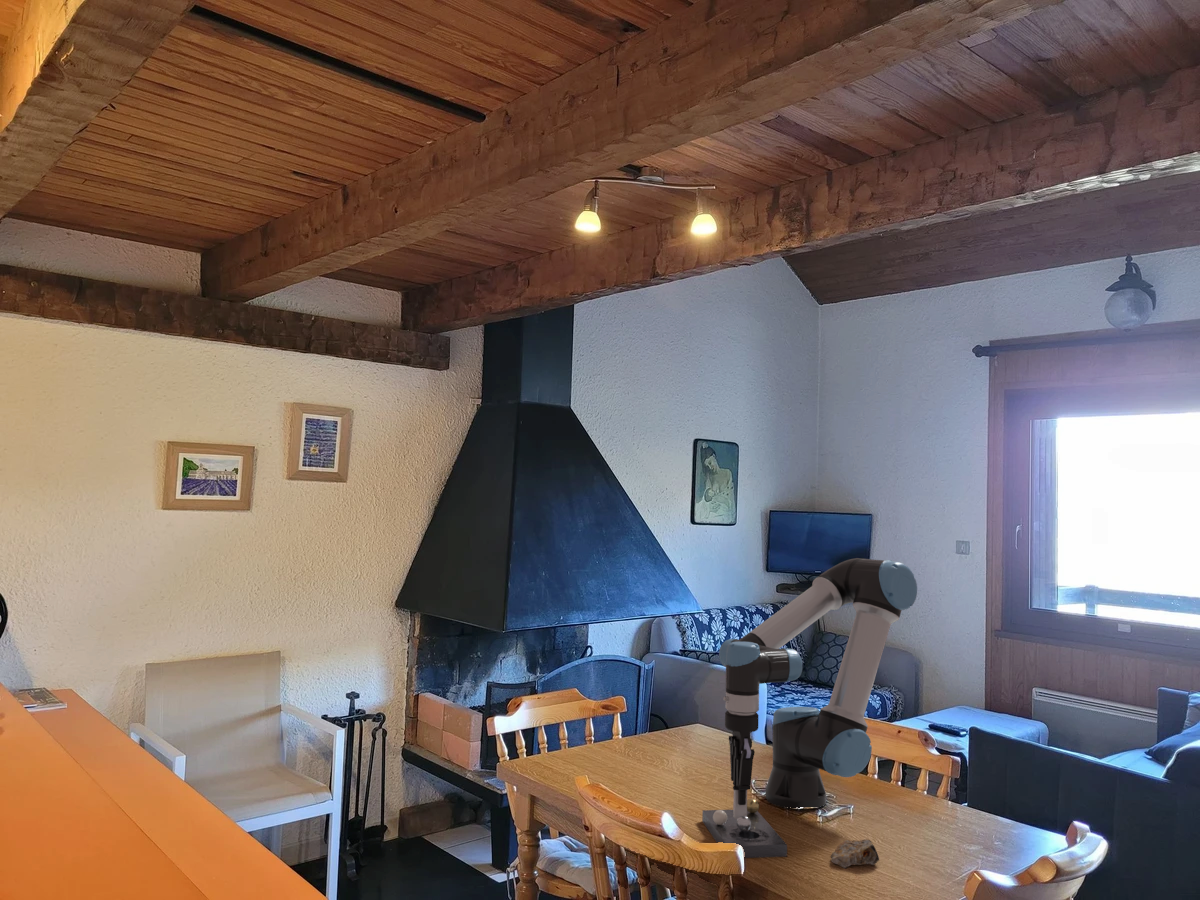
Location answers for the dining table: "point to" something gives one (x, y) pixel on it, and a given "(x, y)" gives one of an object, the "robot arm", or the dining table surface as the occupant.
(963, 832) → the dining table surface
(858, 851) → the rock
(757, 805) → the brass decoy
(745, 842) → the plate
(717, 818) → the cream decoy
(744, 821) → the steel ball
